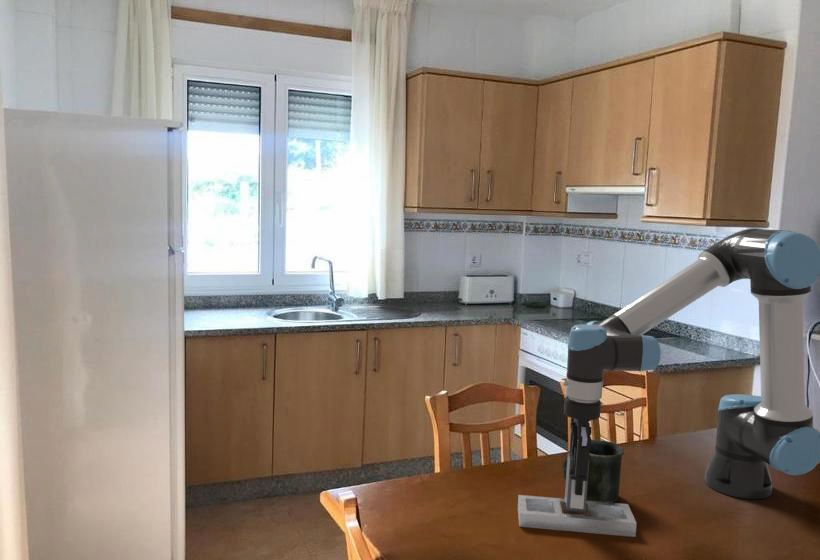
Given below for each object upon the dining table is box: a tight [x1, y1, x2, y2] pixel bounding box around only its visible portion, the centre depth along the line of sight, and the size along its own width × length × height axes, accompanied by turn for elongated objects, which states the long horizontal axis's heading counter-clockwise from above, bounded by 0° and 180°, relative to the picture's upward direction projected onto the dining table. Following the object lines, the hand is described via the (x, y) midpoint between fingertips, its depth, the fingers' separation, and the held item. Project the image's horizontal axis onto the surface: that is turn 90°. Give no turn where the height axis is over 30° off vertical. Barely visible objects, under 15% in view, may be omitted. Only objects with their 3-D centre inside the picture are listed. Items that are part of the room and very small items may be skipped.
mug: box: [561, 439, 625, 503], centre depth 160 cm, size 11×15×12 cm
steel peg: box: [564, 452, 589, 515], centre depth 147 cm, size 4×4×12 cm
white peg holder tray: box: [517, 494, 638, 538], centre depth 147 cm, size 24×9×3 cm, turn 83°
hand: (575, 502), depth 147 cm, fingers closed on steel peg, 4 cm apart
